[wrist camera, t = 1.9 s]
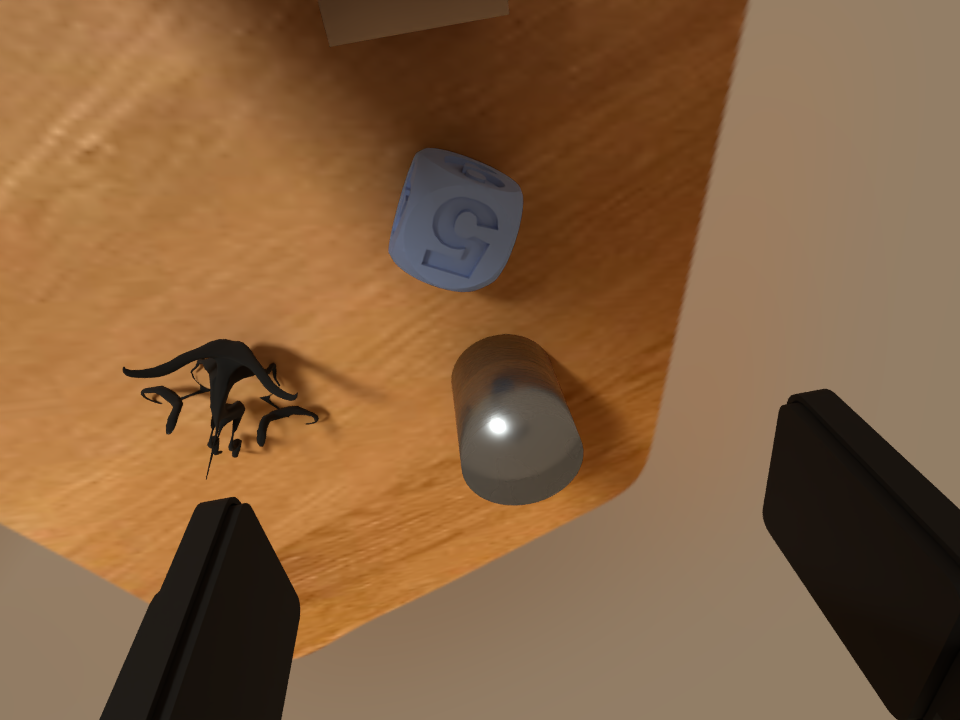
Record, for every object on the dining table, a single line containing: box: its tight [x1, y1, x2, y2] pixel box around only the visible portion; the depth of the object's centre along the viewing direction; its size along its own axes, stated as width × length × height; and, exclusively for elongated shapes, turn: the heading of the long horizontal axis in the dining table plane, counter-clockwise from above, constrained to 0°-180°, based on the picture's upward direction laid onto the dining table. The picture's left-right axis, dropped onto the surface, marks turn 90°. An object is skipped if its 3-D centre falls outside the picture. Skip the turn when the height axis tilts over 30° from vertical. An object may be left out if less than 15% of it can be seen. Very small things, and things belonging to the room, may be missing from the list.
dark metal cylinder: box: [451, 334, 583, 505], centre depth 26 cm, size 5×5×6 cm
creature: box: [123, 339, 319, 480], centre depth 25 cm, size 8×5×8 cm
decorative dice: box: [389, 148, 523, 292], centre depth 22 cm, size 4×4×4 cm
